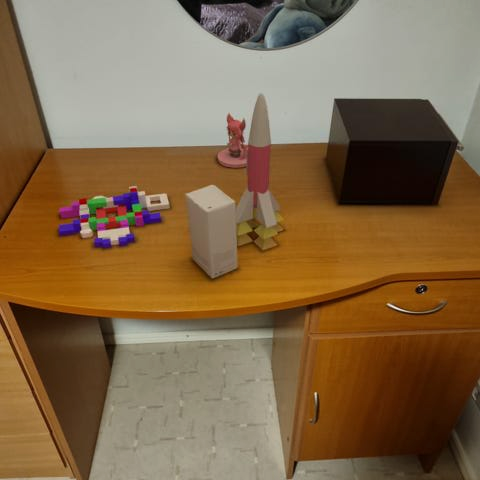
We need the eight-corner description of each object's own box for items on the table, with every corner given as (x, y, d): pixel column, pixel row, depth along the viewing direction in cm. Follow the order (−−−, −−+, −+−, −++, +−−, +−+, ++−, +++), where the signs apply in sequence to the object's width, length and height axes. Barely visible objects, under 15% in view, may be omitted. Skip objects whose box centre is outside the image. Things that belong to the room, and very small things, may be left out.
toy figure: (210, 160, 131) (208, 116, 123) (233, 148, 137) (233, 105, 128) (237, 171, 127) (237, 126, 118) (260, 158, 132) (261, 114, 124)
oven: (405, 158, 133) (421, 98, 121) (429, 205, 116) (450, 140, 104) (325, 158, 133) (334, 98, 121) (338, 204, 116) (349, 140, 104)
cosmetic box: (238, 269, 98) (238, 202, 87) (210, 280, 95) (206, 212, 84) (217, 248, 103) (214, 182, 92) (189, 258, 100) (184, 192, 89)
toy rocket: (294, 239, 106) (308, 97, 84) (247, 255, 101) (250, 111, 80) (264, 213, 113) (270, 77, 92) (219, 227, 108) (215, 88, 87)
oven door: (423, 158, 133) (440, 99, 121) (450, 204, 116) (473, 141, 104) (406, 158, 133) (421, 99, 121) (431, 204, 116) (451, 141, 104)
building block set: (59, 254, 101) (53, 236, 98) (61, 203, 115) (56, 187, 112) (177, 238, 106) (175, 220, 102) (165, 191, 120) (163, 174, 117)
